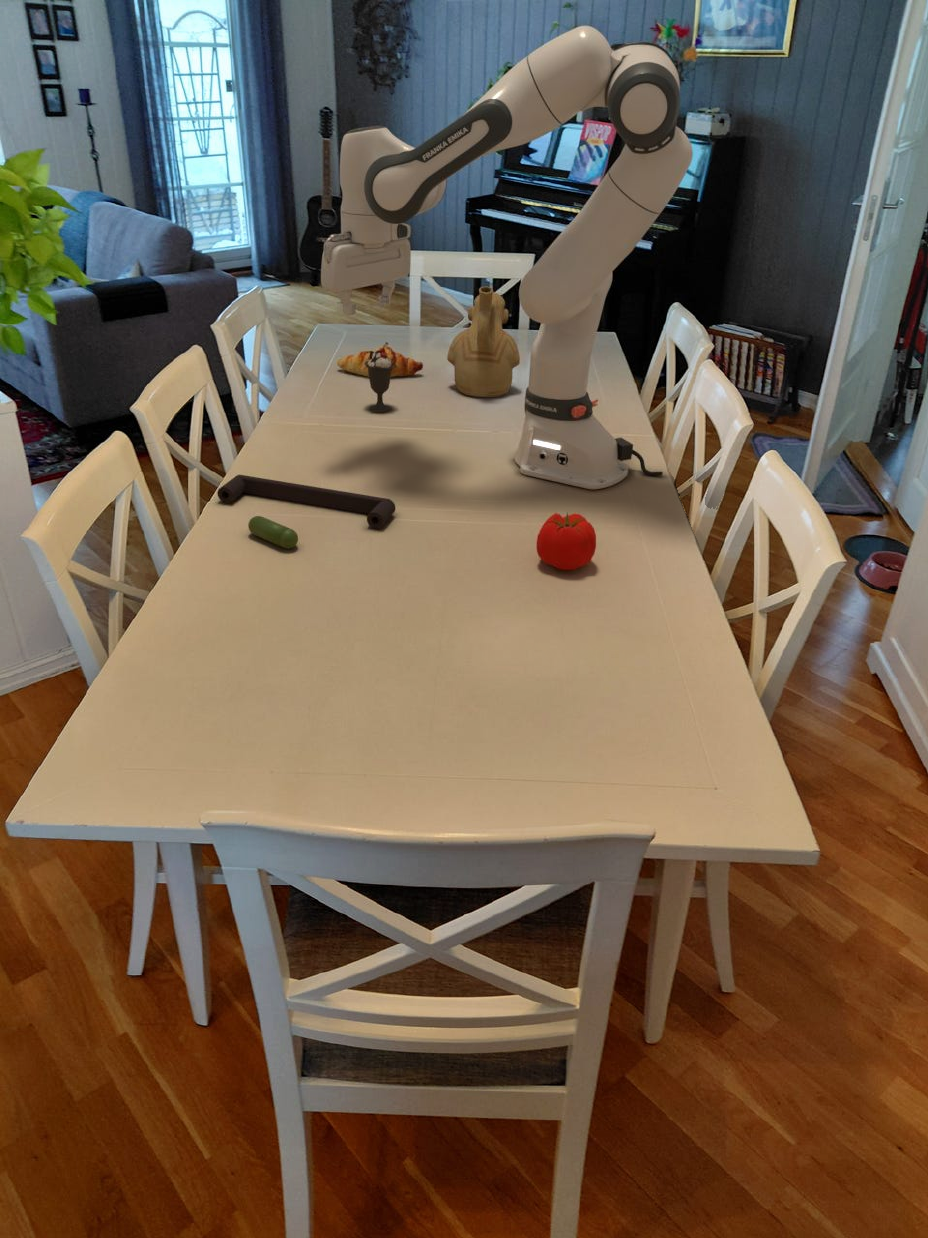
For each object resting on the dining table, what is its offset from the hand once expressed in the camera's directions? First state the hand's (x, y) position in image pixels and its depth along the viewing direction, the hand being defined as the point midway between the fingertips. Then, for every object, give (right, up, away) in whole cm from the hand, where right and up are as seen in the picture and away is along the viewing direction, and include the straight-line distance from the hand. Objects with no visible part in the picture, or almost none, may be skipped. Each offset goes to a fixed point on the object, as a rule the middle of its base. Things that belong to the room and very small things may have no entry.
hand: (367, 310), depth 171 cm
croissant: (-3, +4, +58) cm, 59 cm away
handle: (-9, -38, -11) cm, 40 cm away
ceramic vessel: (+22, -3, +50) cm, 55 cm away
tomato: (+33, -48, -24) cm, 63 cm away
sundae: (-1, -10, +36) cm, 37 cm away
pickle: (-13, -44, -22) cm, 51 cm away
